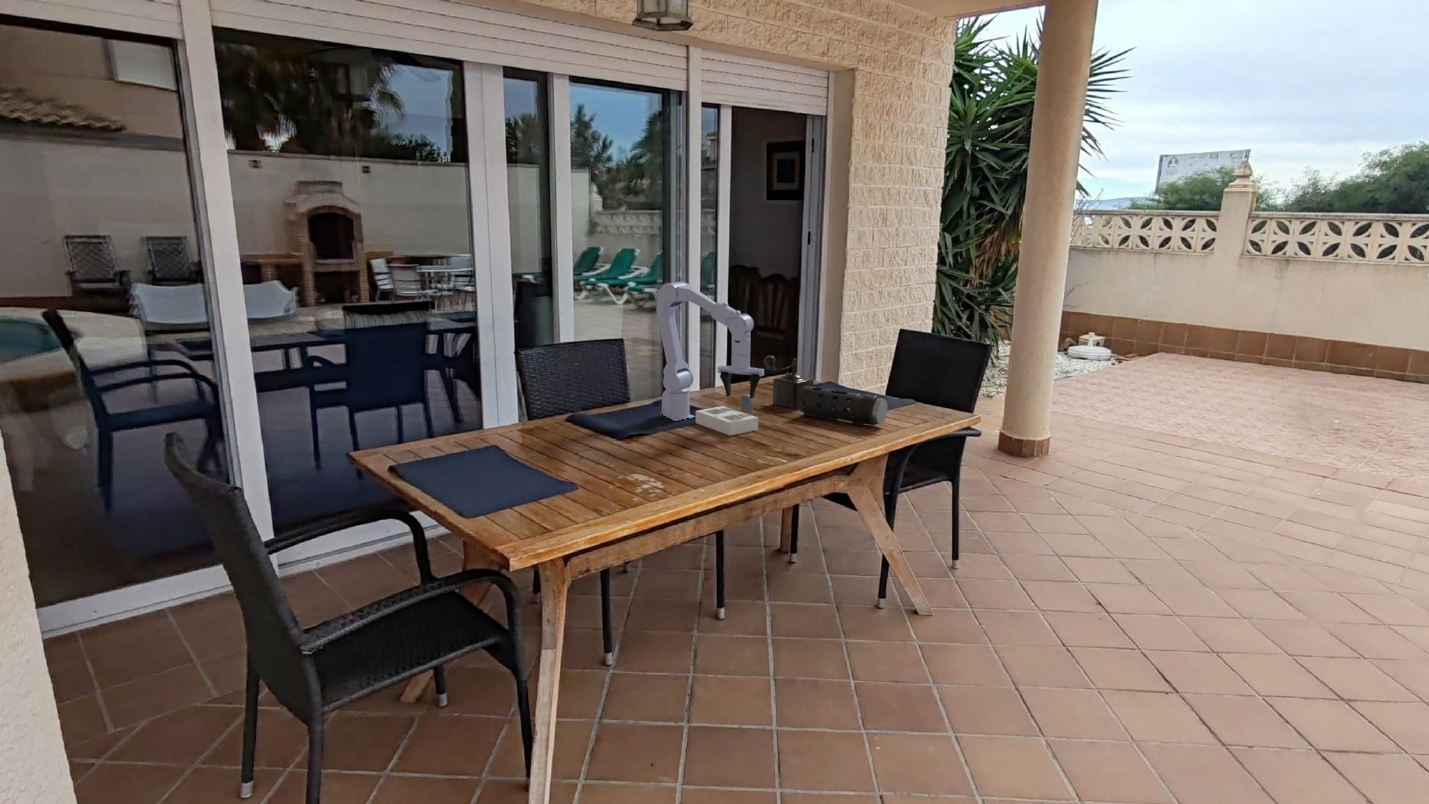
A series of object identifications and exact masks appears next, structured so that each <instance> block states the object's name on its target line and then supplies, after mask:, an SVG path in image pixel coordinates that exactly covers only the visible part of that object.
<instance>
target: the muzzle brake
mask: <svg viewBox="0 0 1429 804" xmlns="http://www.w3.org/2000/svg"><path fill="white" fill-rule="evenodd" d="M806 393H810V394H808V395H806ZM804 401H805V402H806V401H807V402H808V404H806V403H805V402H804ZM797 404H798V409H797V410H798V411H799V412H800V413H802V414H803V415H804V416H808V417H812V418H813V417H814V418H818V419H819V418H820V419H823V420H824V419H826V420H834V421H838V420H840V421H845V422H851V423H852V424H853V425H855V426H864V425H869V426H876V425H882V424H883V423H884V422H885V420H886V417H887V414H888V403H887V400H886V399H885V398H882V397H881V396H880V395H877V394H876V395H875V394H868V393H867V394H861V393H855V392H850V391H842V390H836V389H830V388H822V387H816V386H813V387H811V386H804V387H803V388H802V389H801V390H800V392H799V395H798V401H797Z"/></svg>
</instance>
